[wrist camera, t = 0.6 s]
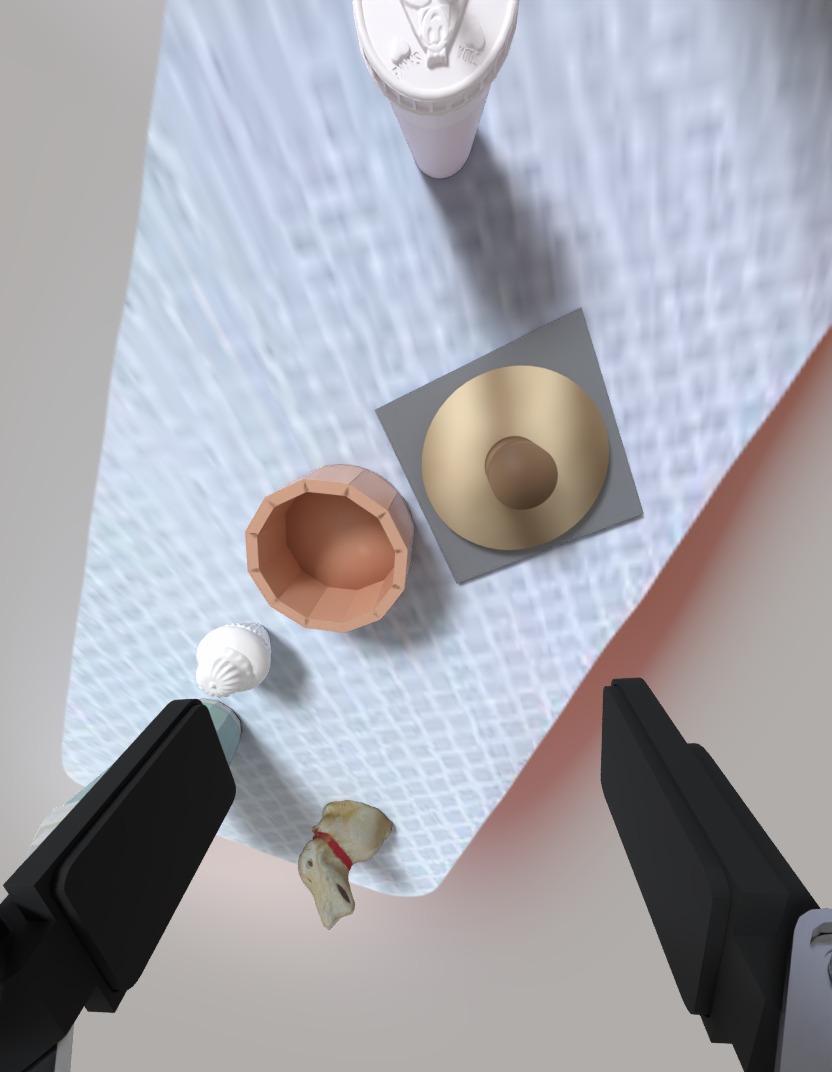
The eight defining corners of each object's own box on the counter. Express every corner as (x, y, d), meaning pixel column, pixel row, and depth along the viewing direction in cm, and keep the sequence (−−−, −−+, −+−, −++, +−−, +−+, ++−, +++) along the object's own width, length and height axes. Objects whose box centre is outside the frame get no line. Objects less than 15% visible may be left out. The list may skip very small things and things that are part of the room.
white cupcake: (219, 656, 39) (172, 710, 32) (220, 600, 36) (170, 646, 30) (283, 669, 38) (248, 727, 32) (288, 614, 36) (251, 663, 30)
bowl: (376, 440, 30) (359, 452, 25) (435, 564, 33) (432, 600, 28) (256, 498, 33) (215, 520, 27) (322, 609, 36) (297, 649, 30)
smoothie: (495, 59, 23) (556, -393, 10) (496, 199, 25) (545, -14, 12) (382, 77, 23) (294, -325, 10) (392, 211, 25) (329, 22, 12)
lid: (570, 330, 26) (599, 316, 21) (625, 506, 30) (662, 531, 25) (393, 417, 29) (380, 423, 24) (463, 568, 33) (465, 602, 28)
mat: (579, 308, 26) (581, 307, 26) (640, 511, 31) (643, 513, 30) (375, 409, 30) (374, 410, 29) (456, 580, 34) (456, 583, 33)
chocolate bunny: (338, 783, 43) (307, 893, 34) (397, 820, 44) (383, 936, 35) (311, 810, 45) (274, 922, 35) (369, 844, 46) (347, 961, 37)
